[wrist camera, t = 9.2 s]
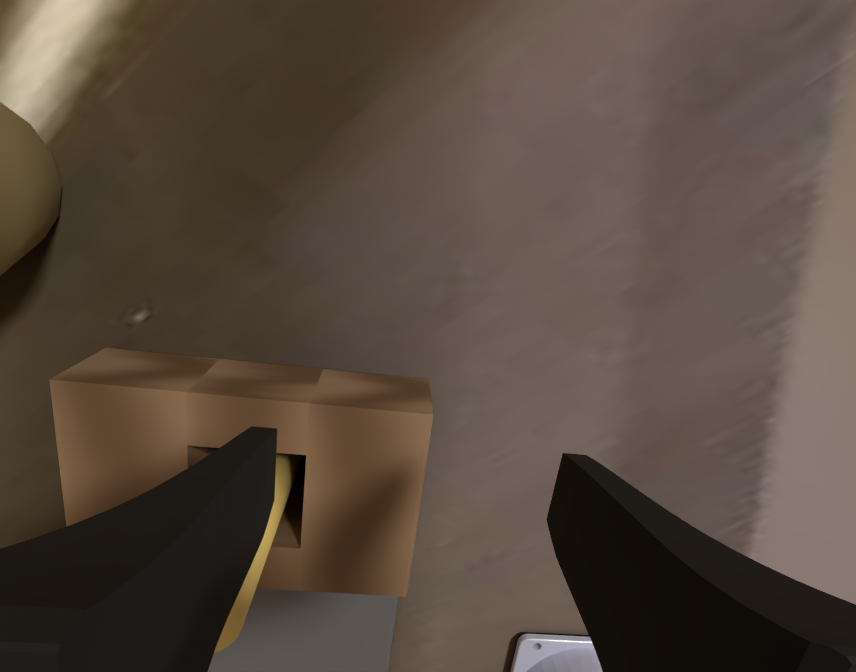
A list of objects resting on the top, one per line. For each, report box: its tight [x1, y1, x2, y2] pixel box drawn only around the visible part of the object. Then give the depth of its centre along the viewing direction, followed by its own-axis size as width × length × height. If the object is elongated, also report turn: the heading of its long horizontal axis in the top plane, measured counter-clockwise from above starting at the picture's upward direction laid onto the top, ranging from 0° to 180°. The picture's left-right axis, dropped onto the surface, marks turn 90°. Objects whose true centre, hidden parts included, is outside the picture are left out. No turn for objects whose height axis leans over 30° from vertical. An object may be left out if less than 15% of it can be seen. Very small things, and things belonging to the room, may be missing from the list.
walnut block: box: [50, 348, 434, 597], centre depth 21 cm, size 14×9×4 cm, turn 83°
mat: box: [208, 588, 398, 672], centre depth 26 cm, size 10×10×1 cm
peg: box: [214, 453, 301, 653], centre depth 18 cm, size 3×3×9 cm
